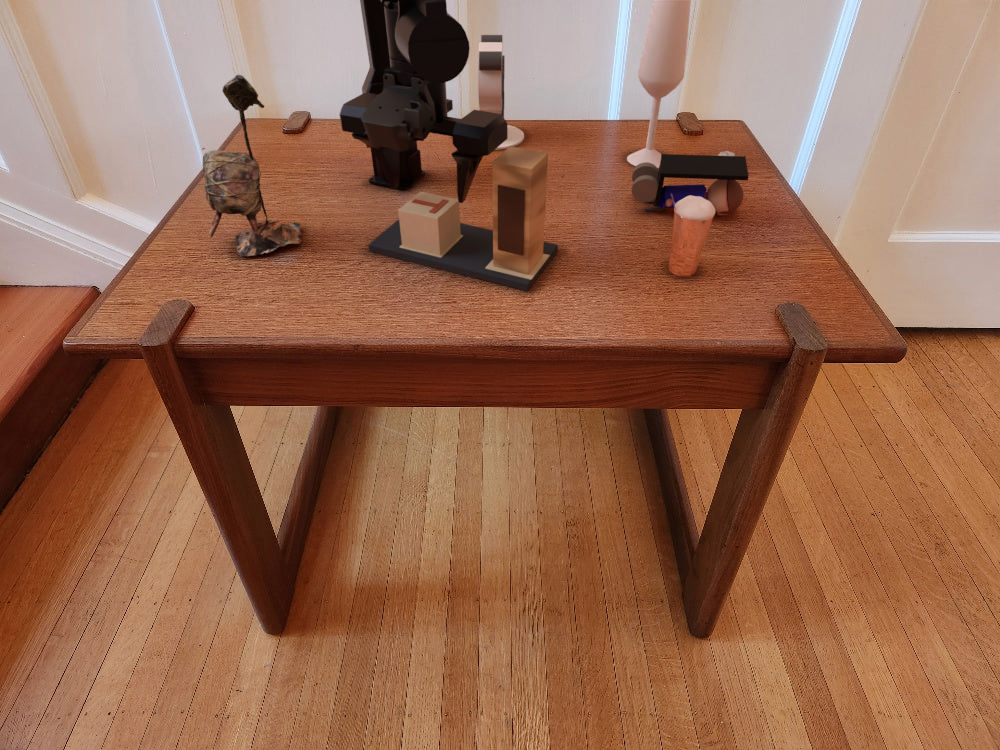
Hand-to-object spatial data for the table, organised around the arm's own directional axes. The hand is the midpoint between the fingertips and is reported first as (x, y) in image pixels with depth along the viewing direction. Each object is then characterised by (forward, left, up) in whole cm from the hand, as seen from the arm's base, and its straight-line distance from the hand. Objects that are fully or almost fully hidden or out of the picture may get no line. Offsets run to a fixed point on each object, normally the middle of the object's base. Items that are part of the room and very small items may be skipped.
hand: (428, 194), depth 77 cm
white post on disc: (-9, +37, -8) cm, 39 cm away
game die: (+30, +39, -8) cm, 50 cm away
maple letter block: (+12, 0, -6) cm, 14 cm away
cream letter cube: (0, 0, -6) cm, 6 cm away
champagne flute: (+18, +39, -8) cm, 44 cm away
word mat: (+4, +1, -8) cm, 9 cm away
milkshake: (+30, +8, -8) cm, 32 cm away
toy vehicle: (+27, +24, -8) cm, 37 cm away
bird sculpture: (-21, -8, -8) cm, 24 cm away
